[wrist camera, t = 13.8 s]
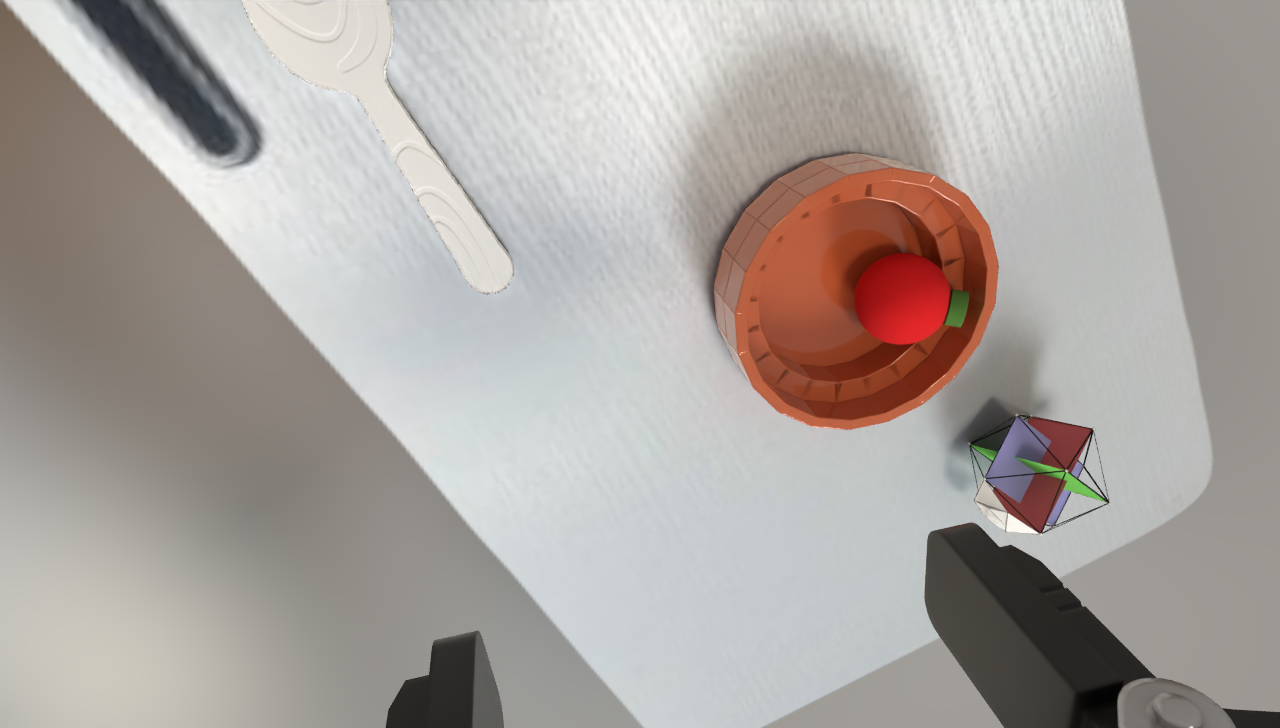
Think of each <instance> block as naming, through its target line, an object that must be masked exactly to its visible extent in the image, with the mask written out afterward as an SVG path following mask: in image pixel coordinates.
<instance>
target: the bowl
mask: <svg viewBox="0 0 1280 728" xmlns="http://www.w3.org/2000/svg"><path fill="white" fill-rule="evenodd" d="M898 253H910V254H916V255H919V256H922V257H924V258H926V259H928V260H930V261H932V262H933V263H934V264H935V265H937V266H938V267H939V268H940V270H941V271H942V272H943V273H944V275H945V277H946V279H947V281H948V283H949V287H950V291H951V290H952V289H955V290H961V291H967V292H969V301H968V307H967V311H966V315H965V318H964V322H963V324H962V326H961V327H953V326H948V325H944V324H942V325H941V326H940V327H939V329H938V330H936V331H935V332H934V333H933V334H932V335H930V336H929V337H927V338H925V339H924V340H921V341H919V342H916V343H912V344H905V345H897V344H891V343H887V342H884V341H881V340H879V339H877V338H875V337H874V336H873V335H871V334H870V333H869V332H868V331H867V330H866V329H865V328H864V327H863V326H862V324H861V322H860V321H859V319H858V317H857V314H856V310H855V305H854V296H855V290H856V286H857V284H858V281H859V279H860V278H861V276H862V274H863V273H864V272H865V271H866V269H867V268H868V267H869V266H870V265H872V264H873V263H874V262H876V261H878V260H879V259H881V258H883V257H886V256H889V255H892V254H898ZM998 268H999V265H998V260H997V256H996V252H995V247H994V243H993V239H992V235H991V231H990V228H989V225H988V224H987V222H986V221H985V219H984V218H983V217H982V215H981V214H980V212H979V211H978V210H977V208H976V207H975V205H974V204H973V202H972V201H971V200H970V198H969V197H968V196H967V195H966V194H965V193H963V192H961V191H960V190H958V189H957V188H955V187H953V186H952V185H950V184H949V183H947V182H945V181H944V180H942V179H941V178H939V177H937V176H936V175H934V174H931V173H928V172H926V171H923V170H920V169H918V168H915V167H912V166H909V165H906V164H904V163H901V162H898V161H896V160H893V159H888V158H882V157H876V156H871V155H865V154H860V153H857V154H856V153H851V154H845V155H840V156H834V157H828V158H822V159H816V160H813V161H811V162H809V163H807V164H805V165H803V166H801V167H800V168H798V169H796V170H794V171H792V172H790V173H788V174H786V175H784V176H782V177H780V178H778V179H777V180H775V181H774V182H773V183H772V184H771V185H770V186H769V187H768V188H767V189H766V190H765V191H764V192H763V193H762V194H761V195H760V196H759V197H757V198H756V199H755V200H754V201H753V202H752V203H751V204H750V205H749V206H748V207H747V208H746V209H745V211H744V212H743V214H742V215H741V217H740V219H739V221H738V222H737V224H736V226H735V228H734V229H733V231H732V233H731V234H730V236H729V238H728V240H727V241H726V243H725V245H724V248H723V249H722V253H721V258H720V262H719V266H718V271H717V275H716V279H715V283H714V297H715V308H716V320H717V326H718V328H719V330H720V332H721V334H722V337H723V339H724V341H725V343H726V345H727V347H728V350H729V352H730V354H731V356H732V357H733V359H734V360H735V362H736V363H737V365H738V366H739V367H740V369H741V370H742V372H743V373H744V375H745V376H746V378H747V379H748V381H749V382H750V384H751V385H752V387H753V388H754V389H755V390H756V391H757V392H758V393H759V394H760V395H761V396H762V397H763V398H764V399H765V400H766V401H767V402H768V403H769V404H770V405H771V406H772V407H773V408H774V409H776V410H777V411H778V412H779V413H781V414H783V415H786V416H788V417H790V418H793V419H795V420H797V421H800V422H802V423H804V424H807V425H809V426H812V427H821V428H833V429H845V430H848V429H849V430H851V429H856V428H861V427H865V426H870V425H875V424H880V423H885V422H888V421H890V420H892V419H894V418H896V417H898V416H900V415H903V414H905V413H907V412H909V411H911V410H913V409H915V408H917V407H919V406H921V405H923V403H925V402H926V401H927V400H929V399H930V398H931V397H932V396H933V395H934V394H936V393H937V392H938V391H939V390H940V389H942V388H943V387H944V386H945V385H946V384H947V383H949V382H950V381H951V380H952V379H953V378H954V376H956V375H957V374H958V373H959V371H960V370H961V368H962V367H963V366H964V364H965V363H966V362H967V360H968V359H969V357H970V356H971V355H972V353H973V352H974V351H975V349H976V348H977V346H978V345H979V343H980V342H981V339H982V337H983V334H984V332H985V329H986V326H987V324H988V321H989V319H990V316H991V314H992V311H993V309H994V306H995V301H996V290H997V279H998Z"/></svg>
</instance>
